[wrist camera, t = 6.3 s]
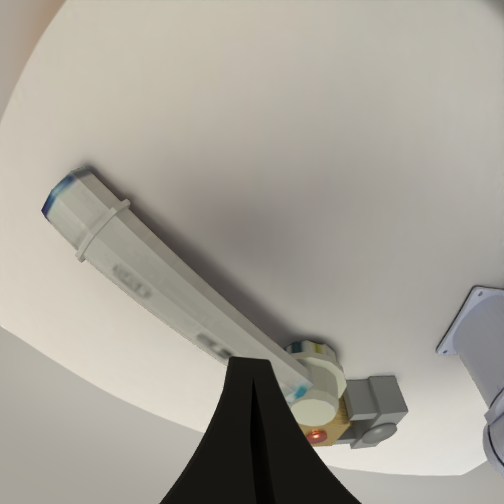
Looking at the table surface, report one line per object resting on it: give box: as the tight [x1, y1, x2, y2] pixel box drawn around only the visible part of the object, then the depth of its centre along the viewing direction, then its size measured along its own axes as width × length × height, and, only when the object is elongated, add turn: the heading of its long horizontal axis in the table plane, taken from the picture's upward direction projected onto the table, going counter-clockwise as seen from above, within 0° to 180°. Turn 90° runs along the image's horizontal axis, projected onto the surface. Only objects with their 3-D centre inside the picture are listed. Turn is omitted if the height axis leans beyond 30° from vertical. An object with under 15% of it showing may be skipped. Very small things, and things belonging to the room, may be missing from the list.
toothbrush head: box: [41, 167, 347, 426], centre depth 20 cm, size 5×7×25 cm
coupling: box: [333, 376, 409, 449], centre depth 27 cm, size 6×7×5 cm
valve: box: [297, 394, 356, 447], centre depth 26 cm, size 8×4×5 cm, turn 78°
